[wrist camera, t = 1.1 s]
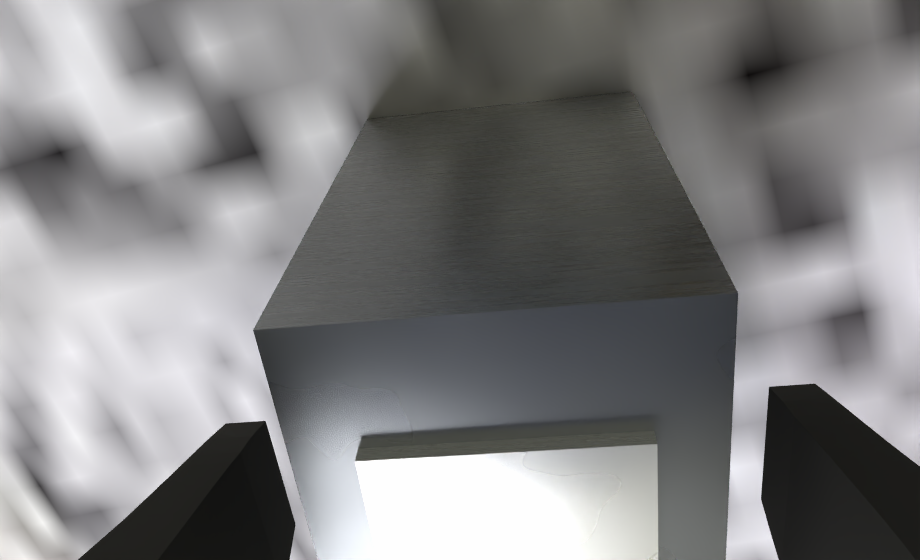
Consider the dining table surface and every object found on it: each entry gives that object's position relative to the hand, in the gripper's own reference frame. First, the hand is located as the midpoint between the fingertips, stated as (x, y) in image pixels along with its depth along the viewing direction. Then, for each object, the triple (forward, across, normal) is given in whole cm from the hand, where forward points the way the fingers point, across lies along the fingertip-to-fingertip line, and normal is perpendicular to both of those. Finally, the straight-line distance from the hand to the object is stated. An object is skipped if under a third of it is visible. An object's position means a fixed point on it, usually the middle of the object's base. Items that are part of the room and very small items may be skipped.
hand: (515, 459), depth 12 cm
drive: (+4, 0, 0) cm, 4 cm away
